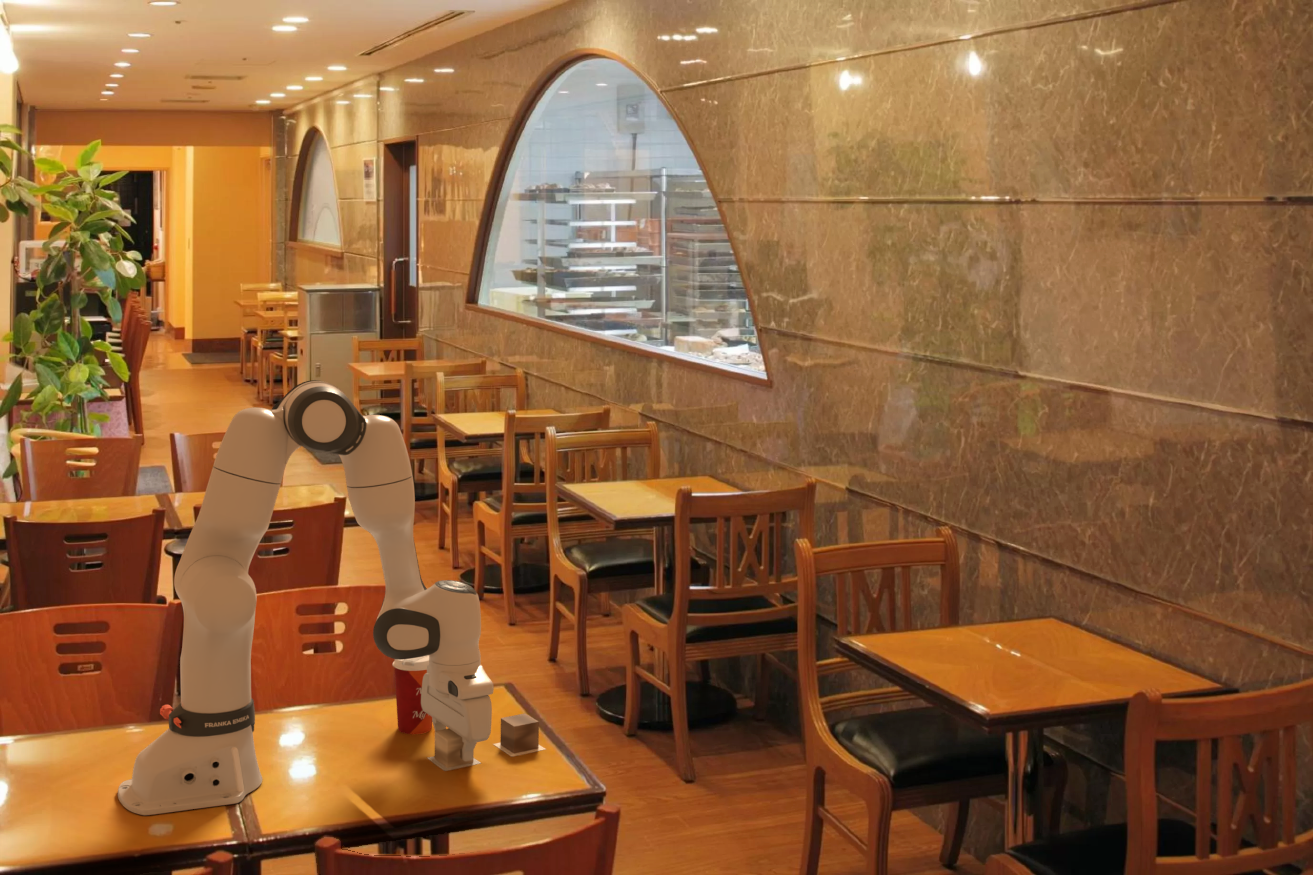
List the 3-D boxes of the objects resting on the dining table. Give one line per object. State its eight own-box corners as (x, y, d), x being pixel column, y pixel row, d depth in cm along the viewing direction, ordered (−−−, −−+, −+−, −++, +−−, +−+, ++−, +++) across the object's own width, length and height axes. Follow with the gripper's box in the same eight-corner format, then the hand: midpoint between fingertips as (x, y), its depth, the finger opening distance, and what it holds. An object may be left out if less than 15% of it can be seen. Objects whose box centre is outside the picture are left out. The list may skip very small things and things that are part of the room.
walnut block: (513, 753, 238) (514, 726, 238) (500, 744, 242) (500, 718, 242) (538, 748, 241) (538, 721, 240) (524, 739, 245) (525, 713, 244)
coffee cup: (427, 744, 245) (428, 664, 243) (385, 739, 246) (385, 660, 244) (444, 728, 253) (444, 651, 251) (402, 724, 254) (403, 647, 252)
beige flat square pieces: (451, 785, 226) (451, 778, 226) (415, 758, 238) (415, 751, 238) (563, 760, 239) (563, 753, 239) (524, 735, 250) (524, 729, 250)
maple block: (447, 767, 231) (447, 739, 230) (434, 758, 235) (434, 730, 234) (473, 762, 234) (473, 734, 233) (460, 753, 238) (460, 725, 237)
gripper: (412, 660, 239) (411, 735, 241) (465, 693, 222) (464, 773, 224) (444, 655, 242) (443, 729, 244) (498, 687, 226) (497, 766, 228)
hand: (454, 750), depth 234 cm, fingers open, 8 cm apart
